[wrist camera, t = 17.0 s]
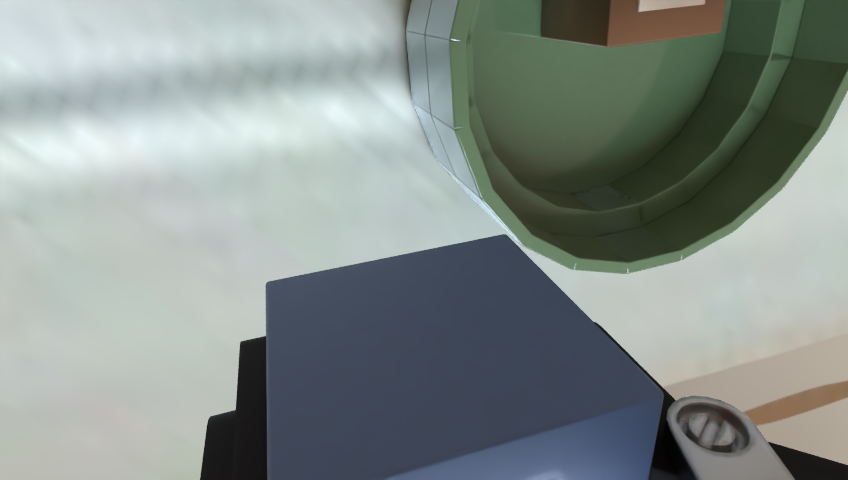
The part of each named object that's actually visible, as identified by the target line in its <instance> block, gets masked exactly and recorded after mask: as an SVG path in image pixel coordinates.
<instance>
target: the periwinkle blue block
mask: <svg viewBox="0 0 848 480" xmlns="http://www.w3.org/2000/svg"><path fill="white" fill-rule="evenodd" d="M266 378H267V480H648V479H649V474H650V468H651V463H652V458H653V452H654V447H655V442H656V436H657V431H658V426H659V421H660V415H661V410H662V405H663V399H664V394H663V392H662V390H661V389H660V388H659V387H658V386H657V385H656V384H655V383H654V382H653V381H652V380H651V379H650V378H649V377H648V376H647V375H646V374H645V373H644V372H643V371H642V370H641V369H640V368H639V367H638V366H637V365H636V364H635V363H634V362H633V361H632V360H631V359H630V358H629V357H628V356H627V355H626V354H625V353H624V352H623V351H622V350H621V349H620V348H619V347H618V346H617V345H616V344H615V343H614V342H613V341H612V340H611V339H610V338H609V337H608V336H607V335H606V334H605V333H604V332H603V331H602V330H601V329H600V328H599V327H598V326H597V325H596V324H595V323H594V322H593V321H592V320H591V319H590V318H589V317H588V316H587V315H586V314H585V313H584V312H583V311H582V310H581V309H580V308H579V307H578V306H577V305H576V304H575V303H574V302H573V301H572V300H571V299H570V298H569V297H568V296H567V295H566V294H565V293H564V292H563V291H562V290H561V289H560V288H559V287H558V286H557V285H556V284H555V283H554V282H553V281H552V280H551V279H550V278H549V277H548V276H547V275H546V274H545V273H544V272H543V271H542V270H541V269H540V268H539V267H538V266H537V265H536V264H535V263H534V262H533V261H532V260H531V259H530V258H529V257H528V256H527V255H526V254H525V253H524V252H523V251H522V250H521V249H520V248H519V247H518V246H517V245H516V244H515V243H514V242H513V241H512V240H511V239H510V238H509V237H508V236H507V235H504V234H503V235H498V236H493V237H488V238H483V239H478V240H473V241H468V242H463V243H458V244H453V245H448V246H443V247H438V248H433V249H428V250H423V251H419V252H414V253H409V254H404V255H399V256H394V257H389V258H384V259H379V260H374V261H369V262H364V263H359V264H354V265H349V266H344V267H339V268H334V269H329V270H324V271H319V272H314V273H309V274H304V275H299V276H294V277H289V278H284V279H279V280H274V281H269V282H267V283H266Z"/></svg>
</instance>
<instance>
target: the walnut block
mask: <svg viewBox="0 0 848 480" xmlns="http://www.w3.org/2000/svg"><path fill="white" fill-rule="evenodd" d="M725 6H726V0H542V24H541V37H542V38H544V39H551V40H558V41H565V42H572V43H579V44H586V45H593V46H600V47H607V48H609V47H617V46H625V45H632V44H640V43H647V42H655V41H663V40H670V39H678V38H685V37H693V36H701V35H708V34H716V33H720V32H721V30H722V24H723V18H724V12H725Z"/></svg>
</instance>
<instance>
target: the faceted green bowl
mask: <svg viewBox="0 0 848 480" xmlns="http://www.w3.org/2000/svg"><path fill="white" fill-rule="evenodd" d="M541 24H542V0H411V6H410V11H409V16H408V21H407V26H406V40H407V51H408V62H409V73H410V84H411V95H412V101H413V105H414V107H415V110H416V112H417V115H418V117H419V119H420V122H421V124H422V127H423V129H424V131H425V134H426V136H427V139H428V141H429V143H430V146H431V148H432V151H433V153H434V155H435V158H436V159H437V161H438V162H439V163H440V164H441V165H442V166H443V167H444V169H445V170H446V171H447V172H448V173H449V174H450V175H451V176H452V177H453V179H454V180H455V181H456V182H457V183H458V184H459V185H460V186H461V187H462V188H463V190H464V191H465V192H466V193H467V194H468V195H469V196H470V197H471V198H472V199H473V200H474V201H475V202H476V203H477V204H478V205H479V206H480V207H481V208H482V209H483V210H484V211H486V212H487V213H488V214H489V215H490V216H491V217H492V218H493V219H494V220H495V221H496V222H497V223H498V224H499V225H500V226H502V227H503V228H504V229H505V230H506V231H507V232H508V233H509V234H510V235H511V236H512V237H513V238H514V239H515V240H517V241H518V242H519V243H520V244H521V245H522V246H524V247H526V248H528V249H530V250H532V251H534V252H536V253H538V254H540V255H542V256H545V257H547V258H549V259H551V260H553V261H555V262H557V263H559V264H561V265H563V266H565V267H567V268H569V269H573V270H583V271H595V272H608V273H621V274H626V273H627V274H628V273H632V272H636V271H641V270H645V269H649V268H653V267H657V266H661V265H665V264H669V263H673V262H677V261H680V260H683V259H685V258H687V257H688V256H690V255H692V254H694V253H696V252H698V251H699V250H701V249H703V248H705V247H707V246H708V245H710V244H712V243H714V242H716V241H718V240H719V239H721V238H723V237H725V236H727V235H728V234H730V233H732V232H733V231H735V230H736V229H737V228H739V227H740V226H741V225H742V224H743V223H744V222H745V221H747V220H748V219H749V218H750V217H751V216H752V215H753V214H754V213H756V212H757V211H758V210H759V209H760V208H761V207H762V206H764V205H765V204H766V203H767V202H768V201H769V200H770V199H772V198H773V197H774V196H775V195H776V194H777V193H778V192H779V191H781V190H782V189H783V187H785V185H786V184H787V183H788V181H789V180H790V179H791V178H792V176H793V175H794V174H795V172H796V171H797V170H798V168H799V167H800V166H801V165H802V163H803V162H804V161H805V159H806V158H807V157H808V155H809V154H810V153H811V152H812V150H813V149H814V148H815V146H816V145H817V144H818V142H819V141H820V140H821V139H822V137H823V136H824V135H825V133H826V132H825V131H827V130H828V128H829V126H830V124H831V122H832V120H833V118H834V117H835V115H836V113H837V111H838V109H839V107H840V105H841V103H842V101H843V99H844V97H845V95H846V93H847V91H848V0H726V6H725V12H724V18H723V24H722V30H721V32H720V33H716V34H708V35H701V36H693V37H685V38H678V39H670V40H663V41H655V42H647V43H640V44H632V45H625V46H617V47H609V48H607V47H600V46H593V45H586V44H579V43H572V42H565V41H558V40H551V39H544V38H542V37H541Z"/></svg>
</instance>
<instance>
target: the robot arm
mask: <svg viewBox="0 0 848 480" xmlns="http://www.w3.org/2000/svg"><path fill="white" fill-rule="evenodd" d="M594 323H595V324H596V325H597V326H598V327H599V328H600V329H601V330H602V331H603V332H604V333H605V334H606V335H607V336H608V337H609V338H610V339H611V340H612V341H613V342H614V343H615V344H616V345H617V346H618V347H619V348H620V349H621V350H622V351H623V352H624V353H625V354H626V355H627V356H628V357H629V358H630V359H631V360H632V361H633V362H634V363H635V364H636V365H637V366H638V367H639V368H640V369H641V370H642V371H643V372H644V373H645V374H646V375H647V376H648V377H649V378H650V379H651V380H652V381H653V382H654V383H655V384H656V385H657V386H658V387H659V388H660V389H661V390H662V392H663V394H664V399H663V405H662V410H661V415H660V421H659V426H658V431H657V436H656V442H655V447H654V452H653V458H652V463H651V468H650V474H649V479H648V480H848V465H845V464H842V463H838V462H835V461H832V460H828V459H825V458H821V457H818V456H815V455H811V454H808V453H804V452H801V451H798V450H794V449H791V448H787V447H784V446H781V445H777V444H774V443H770V442H767V440H766V439H765V438H764V436H763V435H762V434H761V432H760V431H759V429H758V428H757V427H756V425H755V424H754V423H753V422H752V421H751V420H750V419H749V418H748V417H747V416H746V414H744V413H743V412H741V411H740V410H738V409H737V408H735V407H734V406H732V405H730V404H727V403H725V402H723V401H721V400H717V399H713V398H709V397H702V396H690V397H684V398H681V399H679V400H677V401H676V400H675V399H674V398H673V397H672V396H671V395H670V394H668V392H667V391H666V390H665V389H664V388H663V387H662V386H661V385H660V384H659V383H658V382H657V381H655V380H654V379H653V378H652V377H651V376H650V375H649V374H648V373H647V372H646V371H645V370H644V369H643V368H642V367H641V366H640V365H639V364H638V363H637V362H636V361H635V360H634V359H633V358H632V357H631V356H630V355H629V354H628V353H627V352H626V351H625V350H624V349H623V348H622V347H621V346H620V345H619V344H618V343H617V342H616V341H615V340H614V339H613V338H612V337H611V336H610V335H609V334H608V333H607V332H606V331H605V330H604V329H603V328H602V327H601V326H600V325H598V324H597V323H596V322H594ZM200 480H267V378H266V336H264V337H260V338H255V339H251V340H246V341H242V342H241V343H240V354H239V370H238V386H237V401H236V410H235V411H231V412H227V413H223V414H219V415H215V416H211V417H210V418H209V420H208V424H207V431H206V439H205V446H204V454H203V462H202V470H201V478H200Z"/></svg>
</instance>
